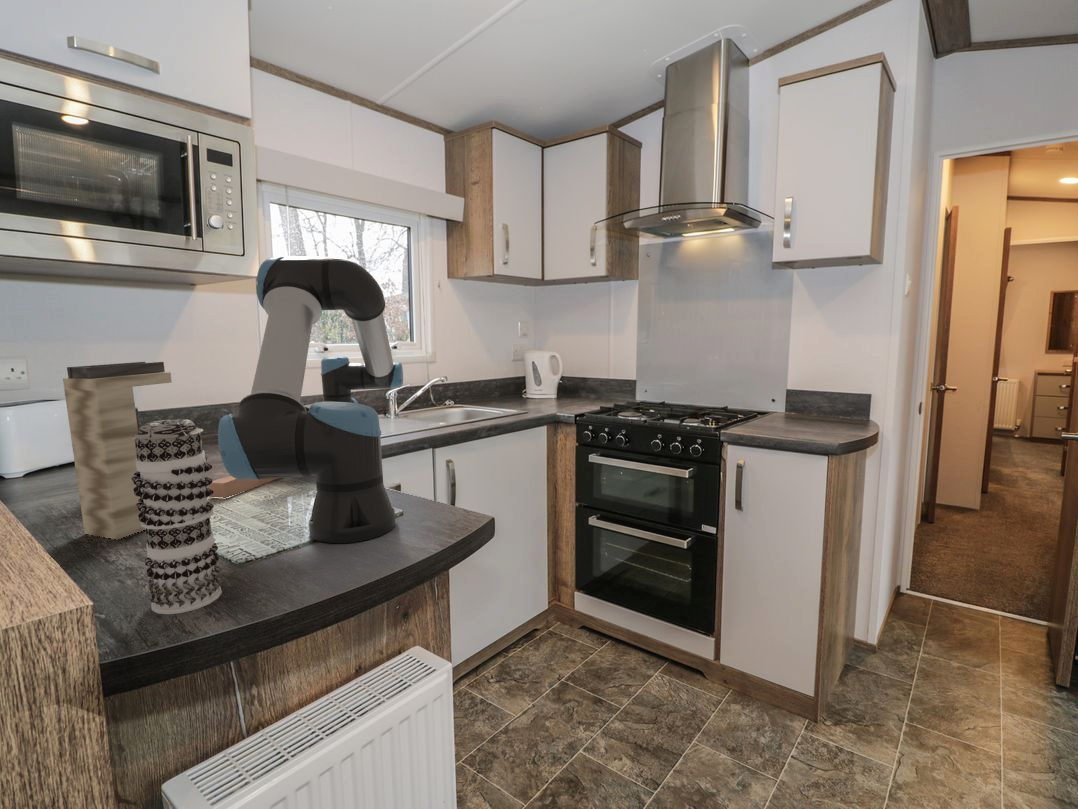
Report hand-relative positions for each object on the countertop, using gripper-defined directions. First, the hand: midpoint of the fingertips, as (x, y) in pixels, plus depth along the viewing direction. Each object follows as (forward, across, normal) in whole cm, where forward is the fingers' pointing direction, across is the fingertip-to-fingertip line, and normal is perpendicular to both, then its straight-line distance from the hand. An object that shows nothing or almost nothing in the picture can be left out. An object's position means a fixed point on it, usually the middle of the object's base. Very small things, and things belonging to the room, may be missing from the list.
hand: (247, 432), depth 134 cm
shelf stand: (+27, 0, -13) cm, 30 cm away
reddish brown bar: (0, +1, -13) cm, 13 cm away
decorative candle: (+46, -38, -13) cm, 61 cm away
